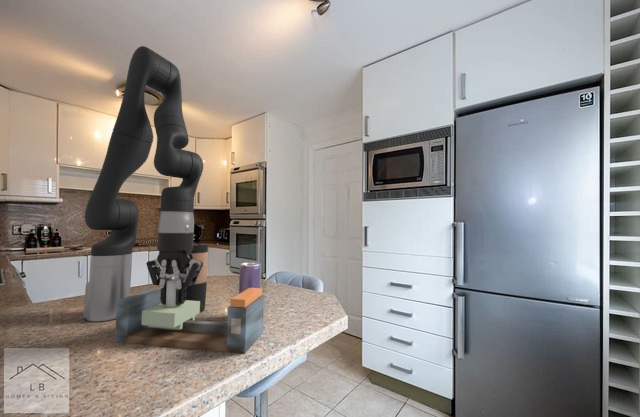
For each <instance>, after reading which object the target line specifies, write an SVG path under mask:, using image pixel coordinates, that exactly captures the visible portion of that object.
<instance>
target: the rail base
mask: <svg viewBox="0 0 640 417" xmlns="http://www.w3.org/2000/svg"><path fill="white" fill-rule="evenodd" d="M160 295H161V288H160V289H159V288H158V289H157V288H151V289H148V290H146V291H142V292H139V293H135V294H133V295H130V296H129V297H126V298H123V299H119V300H117V313H116V319H115V331H114V332H115V333H114V342H115V343H125V344H127V343H128V344H137V345H148V346H160V347H169V348H179V349H181V348H182V349H189V350H190V349H192V350H202V351H213V352H225V353H232V354H234V353H236V354H246V353H247V352H248V351H249V349H250V348H251V347H252V346H253V345H254V344H255V342H257V340H259V338H260V337H261V335H262V334H264V303H265V302H264V300H265V298H264V297H265V295H263V294H262V295H261V296H260V297H259V298H257V299H256V300H255V301H253V302H252V303H250V304H249V305H248V306H246V307H245V308H243V307H230V306H228V307H227V322H224V321H223V322H222V321H221V322H220V321H209V320H196V319H195V320H187V321H185V322H183V326H182V329H180V330H177V329H165V328H152V327H148V326H147V325H141V324H142V311H144V310H146V309H149V308H151V307H154V306H156V305H159V304H161V303H162V302H161V300H160Z"/></svg>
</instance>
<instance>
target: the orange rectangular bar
mask: <svg viewBox="0 0 640 417" xmlns="http://www.w3.org/2000/svg"><path fill="white" fill-rule="evenodd" d="M261 295H263V288H262V287H261V288H248V289H247V290H245V291H243V292H242V293H240V294H239V293H238V294H237V295H234V296H233V297H232V298H230V306H229V307H243V308H245V307H246V306H248V305H249V304H250V303H252V302H253V301H255V300H256V299H257V298H259V297H260V296H261Z"/></svg>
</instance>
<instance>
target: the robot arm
mask: <svg viewBox="0 0 640 417" xmlns="http://www.w3.org/2000/svg"><path fill="white" fill-rule="evenodd" d="M180 74H181V73H180V71H179V69H178V67H177V66H176V65H175V64H174V63H173V62H171V61H170V60H167V59H166V58H165V57H163V56H162V55H160V54H159V53H158V52H155V50H152V49H150V48H149V47H147V46H144V45H142V46H141V45H140V46H139V47H137V48H136V49H135V51H133V54H132V56H131V59H130V61H129V66H128V70H127V76H126V81H125V85H124V92H123V96H122V101H121V104H120V107H119V111H118V114H117V116H116V117H117V118H116V120H115V123H114V126H113V128H112V132H111V136H110V139H109V141H108V144H107V145H108V146H107V149H106V150H107V151H106V154H105V158H104V160H103V164H102V167H101V169H100V173H99V176H98V177H97V181H96V182H95V185H94V187H93V189H92V192H91V194H90V197H89V198H88V202H87V204H86V207H85V210H84V222H85V225H86V226H87V227H88V228H89V229H91V230H93V231H110V233H109V236H108V237H106V238H105V239H103V240H102V241H98V242H96V243H94V244H93V245H92V246H91V248H90V259H89V260H90V262H89V275H88V276H89V279H88V282H86V283H85V291H84V306H83V307H84V308H83V319H86V321H88V322H105V321H112V320H116V313H117V300H119V299H123V298H126V297H129V296H131V287H132V286H131V285H132V284H131V281H132V266H133V265H132V264H133V263H132V262H133V250H134V246H135V244H136V241H137V233H138V224H139V214H140V213H139V208H138V205H137V204H136V202H135V201H133V200H131V199H127V198H118V195H119V192H120V189H121V188H122V187H123V185H124V183H125V182H126V181H127V179H129V178H130V177H131V176H132V175H133V174H134V173H136V172H137V171H138V170H139V169H140V168H141V167H142V166H143V165H144V164H145V163H146V161H147V160H148V158H149V156H150V153H151V148H152V146H153V143H154V132H153V128H152V125H151V121H150V118H149V116H148V112H147V110H146V105H145V92H146V87H147V88H149V89H152V90H153V91H155V92H158V93H160V94H161V95H162V96H163V101H162V103H160V104H159V105H158V106H157V108H156V109H155V111H154V113H153V124H154V129H155V134H156V148H155V152H154V157H153V166H154V169H155V170H156V171H157V173H159V174H160V175H162V176H163V177H164V176H165V177H170V178H178V179H181V180H182V181H181V183H180V185H177V186H167V187H165V188H163V189H162V191H161V195H160V212H159V213H160V214H159V219H158V223H157V224H158V225H157V226H158V228H157V245H156V248H157V249H156V250H157V251H158V255H157V257H156V258H155V259H152V260H148V261H147V262H146V267H147V270H148V274H149V277H150V279H151V283H152V285H153V286H158V287H159V288H160V289H161V295H160V300H161V302H162V304H166V288H167V280H170V279H175V280H176V284H177V289H176V305H181V304H183V303H184V302H185V301H186V294H187V287H188V286H191V285H193V284H195V282H196V280H197V277H198V275H199V273H200V271H201V268H202V266H203V262H197V261H196V260H194V259H193V256H192V249H193V243H194V236H195V235H194V232H195V217H194V215H195V214H194V212H195V211H194V210H195V208H194V206H195V204H194V203H195V195H196V192H197V189H198V186H199V182H200V180H201V177H202V175H203V174H202V173H203V171H204V163H203V162H204V161H203V159H202V157H201V156H200V154H198V153H197V152H194V151H191V150H187V149H185V148H186V147H187V146H188V145H189V142H190V141H189V140H190V138H189V133H188V130H187V126H186V121H185V119H184V114H183V113H184V112H183V101H182V100H183V99H182V95H183V94H182V80H181V75H180ZM189 265H190V267H189ZM188 267H189V269H190V271H189V273H188ZM181 273H182V274H181ZM180 274H181V275H180Z"/></svg>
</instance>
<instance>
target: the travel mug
mask: <svg viewBox="0 0 640 417" xmlns="http://www.w3.org/2000/svg"><path fill="white" fill-rule="evenodd" d="M208 253H209V244H208V243H206V244H201V243H198V242H196V243H195V242H193V249H192V256H193V259H194V260H196V261H197V262H203V266H202V268H201V271H200V273H199V275H198V277H197V280H196V282H195V284H193V285H191V286H188V287H187V294H186V300H190V301H200V313H203V312H204V311H205V309H206V297H207V285H208V284H207V283H208V256H209V254H208ZM189 267H190V265H189ZM189 267H188V273H189V271H190V269H189ZM181 274H182V273H181ZM181 274H180V275H181ZM200 313H199V314H200Z"/></svg>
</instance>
